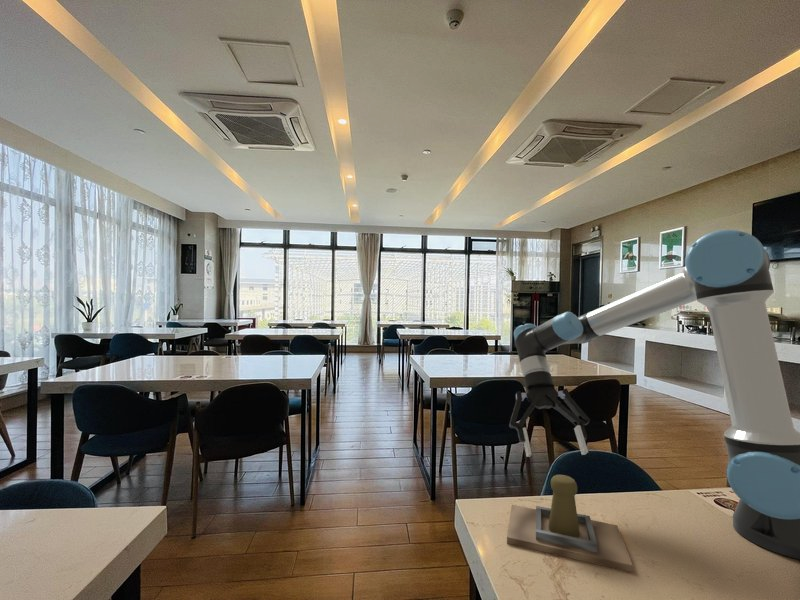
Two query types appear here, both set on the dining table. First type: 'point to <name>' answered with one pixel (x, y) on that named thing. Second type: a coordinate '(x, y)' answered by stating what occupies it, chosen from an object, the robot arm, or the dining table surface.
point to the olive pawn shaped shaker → (564, 506)
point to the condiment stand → (569, 538)
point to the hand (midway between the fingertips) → (556, 454)
